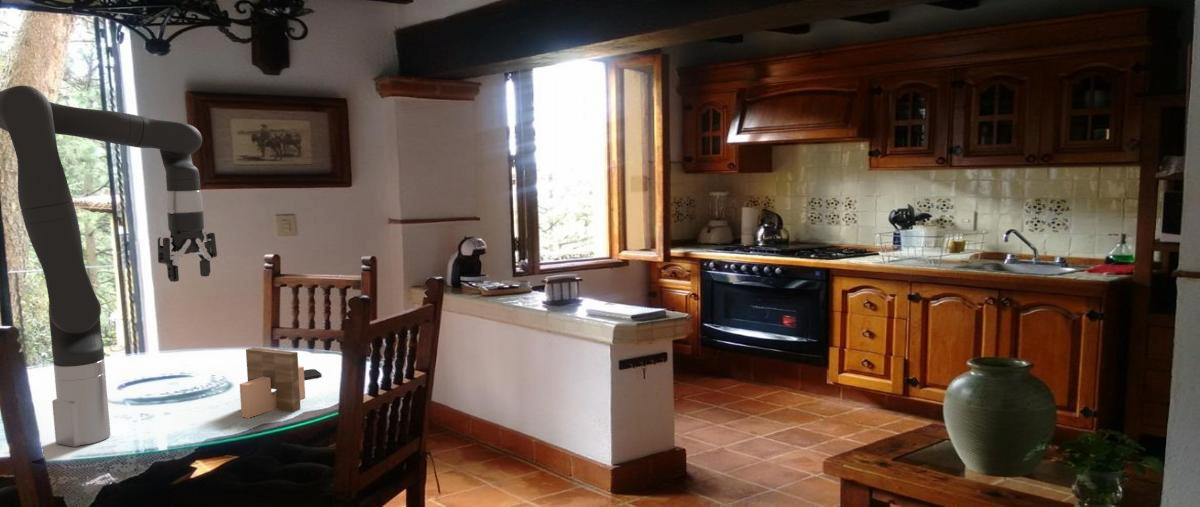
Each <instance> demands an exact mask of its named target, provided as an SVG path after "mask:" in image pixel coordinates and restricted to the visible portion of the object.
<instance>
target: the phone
mask: <svg viewBox="0 0 1200 507" xmlns="http://www.w3.org/2000/svg"><path fill="white" fill-rule="evenodd" d="M322 377H323V376H322V373H321V372H320V371H318V370H317V369H316V368H312V369H311V368H310V369H305V370H304V381H307V380H314V379H319V378H322Z"/></svg>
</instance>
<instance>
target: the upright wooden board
mask: <svg viewBox="0 0 1200 507" xmlns="http://www.w3.org/2000/svg"><path fill="white" fill-rule="evenodd" d="M245 355H246V356H245V357H246V358H245V359H246V374H247V376H246V377H247V382H248V381H251V380H254V379H257V378H260V377H269V378H270V380H271V390H275V391H276V397H277V408H276V410H278V411H284V412H290V411H291V413H292V412H293V413H294V412H296V411H299V410H301V399H300V390H299V372H298V366H299V356H298V355H299V354H298V351H290V350H289V351H288V350H281V349H280V350H279V349H271V348H270V349H269V348H261V347H254V346H253V347H250V348H247V349H245Z"/></svg>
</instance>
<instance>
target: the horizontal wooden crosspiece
mask: <svg viewBox="0 0 1200 507" xmlns="http://www.w3.org/2000/svg"><path fill="white" fill-rule="evenodd" d="M304 368H305V366H302V365H300V366H299V365H298V372H299V390H300V400H302V399H305V398H306V386H305V380H304ZM239 396H240V410H241V412H240V413H241V418H242V417H245V418H244V419H249V418H250V417H252V418H254V417H253V416H255V417H257V416H256V415H258V416H260V415H262V413H263V414H266V413H269V412H271V411H274V410H277V397H276V390H274V391H272V389H271V380H270V378H269V377H260V378H257V379H254V380H251V381H248V380H247V381H245V382H242V383H239ZM265 412H266V413H265ZM259 414H260V415H259ZM250 419H251V418H250Z"/></svg>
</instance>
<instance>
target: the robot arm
mask: <svg viewBox="0 0 1200 507" xmlns="http://www.w3.org/2000/svg"><path fill="white" fill-rule="evenodd" d="M0 129H1V130H3V131H6V132H8V134H9V136H10V140H11V142H12V145H13V149H14V152H15V156H16V161H17V197H18V203H19V204H18V205H19V208H20V213H21V215H22V219H23V222H24V223H23V224H24V227H25V229H26V232H27V235H28V238H29V240H30V243H31V246H32V249H33V250H34V252H35V254H36V258H37V259H38V262H39V264H40V266H41V269H42V271H43V277H44V280H45V284H46V290H47V296H48V298H47V299H48V321H49V330H50V344H51V353H52V361H53V362H52V363H53V372H54V384H55V394H56V395H55V396H56V399H55V398H54V399H53V400H52V415H53V424H54V436H55V444H58V445H64V446H68V447H73V448H74V447H79V446H83V445H89V444H94V443H98V442H101V441H103V440H106V439H108V438H109V437H110V436H111V425H110V415H109V414H110V413H109V402H108V398H109V397H108V390H107V376H106V364H105V353H104V352H105V351H104V343H103V337H102V336H103V335H102V327H101V314H102V308H101V306H102V305H101V303H100V300H99V299H98V297H97V295H96V293H95V290H94V287H93V285H92V283H91V280H90V277H89V275H88V271H87V269H86V264H85V260H84V254H83V253H84V252H83V243H82V242H83V241H82V237H81V236H82V235H81V231H80V225H79V220H78V215H77V212H76V207H75V204H74V200H73V197H72V194H71V190H70V187H69V183H68V180H67V175H66V173H65V170H64V167H63V164H62V160H61V156H60V153H59V149H58V144H57V136H56V135H62V136H69V137H70V136H71V137H78V138H83V139H88V140H94V141H98V142H106V143H109V144H110V143H111V144H115V145H119V146H125V147H126V146H127V147H133V148H139V149H157V150H159V153H160V157H161V160H162V165H163V167H164V169H165V170H164V171H165V178H166V179H165V181H166V182H165V183H166V212H167V215H166V216H167V228H168V230H169V232H170V236H169V237H164V236H163V237H158V238H157V261H158V262H157V263H158V264H163V265H165V266H166V267H167V278H168V280H169V281H170V282H174V283H175V282H179V281H180V276H179V275H180V274H179V266H178V265H177V264H178V263H179V262H180V259H181V258H182V257H183V256H184V255H188V254H194V255H196V256H197V257H198V258H199V260H200V261H199V269H200V270H199V274H200V277H206V278H207V277H209V276H210V274H211V259H213V258H216V257H217V256H218V251H217V242H216V234H215V232H207V231H206V232H203V230H204V229H205V219H204V217H205V216H204V206H203V205H204V204H203V196H202V190H201V179H200V172H199V171H200V170H199V168H198V167H196V166H195V165H194V162H193V158H192V154H194V153H195V152H197V151H198V150H199V149H201V146H202V145H203V144H202V143H203V136H202V134H201V132H200V131H199V130H198V128H196V127H195V126H193V125H191V124H189V123H184V122H179V121H170V120H164V119H163V120H162V119H154V118H149V117H146V116H142V115H136V114H132V113H126V112H122V111H121V112H120V111H113V110H103V109H94V108H93V109H92V108H82V107H76V106H68V105H65V104H64V105H63V104H59V103H54V102H51V101H49V99H48V98H47V97H46V95H45V94H44V93H43V92H41V90H38V89H37V88H35V87H33V86H29V85H15V86H11V87H9V88H6V89H3V90H1V91H0ZM203 242H204V244H203Z"/></svg>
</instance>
